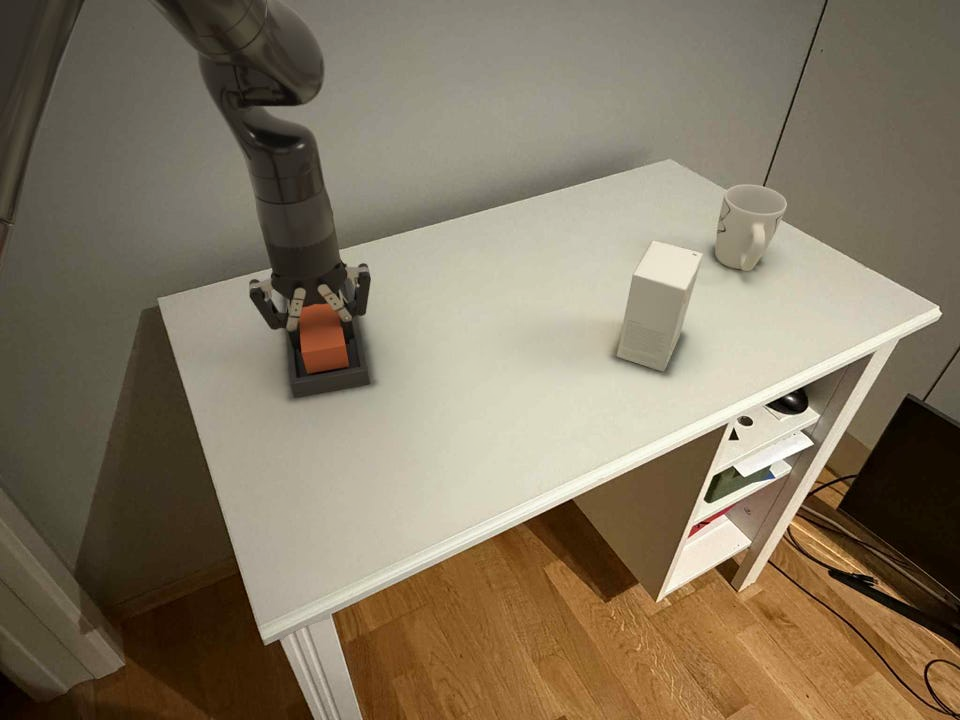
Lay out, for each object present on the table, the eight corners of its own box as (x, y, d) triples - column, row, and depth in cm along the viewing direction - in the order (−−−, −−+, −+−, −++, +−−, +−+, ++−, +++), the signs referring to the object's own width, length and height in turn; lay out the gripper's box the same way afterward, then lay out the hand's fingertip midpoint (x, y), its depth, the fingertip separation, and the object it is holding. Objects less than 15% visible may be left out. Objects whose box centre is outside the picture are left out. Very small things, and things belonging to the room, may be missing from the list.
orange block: (349, 366, 77) (345, 345, 75) (307, 374, 76) (301, 352, 74) (341, 320, 83) (337, 299, 81) (302, 326, 82) (297, 305, 80)
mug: (774, 288, 91) (799, 228, 84) (714, 284, 92) (733, 224, 85) (758, 244, 99) (779, 185, 93) (703, 240, 100) (720, 182, 93)
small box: (634, 320, 86) (652, 238, 77) (680, 335, 84) (705, 252, 75) (614, 357, 81) (631, 273, 72) (663, 373, 79) (687, 289, 70)
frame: (370, 383, 77) (367, 369, 76) (293, 398, 76) (289, 383, 74) (348, 276, 93) (346, 263, 91) (285, 286, 91) (281, 272, 90)
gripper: (227, 254, 64) (266, 375, 75) (370, 234, 66) (386, 353, 78) (228, 216, 69) (264, 334, 81) (361, 199, 72) (377, 316, 83)
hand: (324, 343), depth 79 cm, fingers closed on orange block, 5 cm apart
